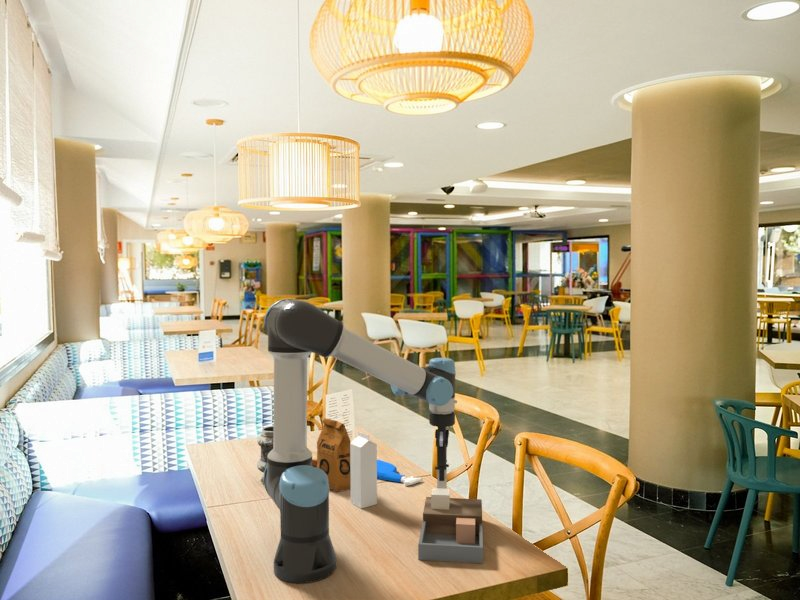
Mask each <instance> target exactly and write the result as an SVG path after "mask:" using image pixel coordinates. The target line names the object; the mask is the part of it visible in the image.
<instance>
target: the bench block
mask: <svg viewBox="0 0 800 600" xmlns="http://www.w3.org/2000/svg"><path fill="white" fill-rule="evenodd" d="M482 505H483V501H482V498H481V499H477V498H460V497H459V498H455V497H450V507H449V510H445V509H431V496H426V497H425V501H424V507H423V510H422V511H423V512H422V522H423V521H426V534H445V535H456V518H472V519H475V536H479V524H482V525H483V506H482Z"/></svg>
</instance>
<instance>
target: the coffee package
mask: <svg viewBox="0 0 800 600" xmlns="http://www.w3.org/2000/svg"><path fill="white" fill-rule="evenodd" d="M321 422H322V424H323V427H322V429H321V430H320V434H319V436H318V438H317V441H316V452H317V467H318V468H320V469H322V470H323V471H324V472H325V473H326V474H327V477H328V483H329V489H331V490H334V491H335V492H341V491H346V490H350V489H351V477H350V443H351V442H352V441H351V438H350V437H349V434H348V431H347V429H346V425H345V424H344V423H342V422H340V421H338V420H334V419H330V418H327V417H325V418H323V420H322V421H321Z"/></svg>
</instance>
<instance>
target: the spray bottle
mask: <svg viewBox="0 0 800 600" xmlns="http://www.w3.org/2000/svg"><path fill="white" fill-rule="evenodd" d="M397 470H398V469H397V467H396V465H394V464H392V463H390V462H387V461H385V460H381V459H377V480H380V479H381V481H387V480H388V482H396V483H403V484H404V486H405V487H408V486H413V485H416V484H418V483H421V482H422V481H424V479H423V477H414V476H413V475H410V477H407V476H405V474H400V473H397V472H398V471H397Z"/></svg>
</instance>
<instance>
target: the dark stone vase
mask: <svg viewBox="0 0 800 600" xmlns="http://www.w3.org/2000/svg"><path fill="white" fill-rule="evenodd" d="M273 437H274V425H269V426H265V427H262V429H261V434H260V435H259V436H257V440H256V442H257V445H258V446H259V447H260V458H259V459H258V460H257V462H256V467H257V470H259V471H260V472H261V473H263V474H264V471H265V468H266V466H267V455H268V453H269V452H270V451H271V450H272V449H273ZM260 482H261V484H263V485H264V480H263V477H261V479H260Z"/></svg>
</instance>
